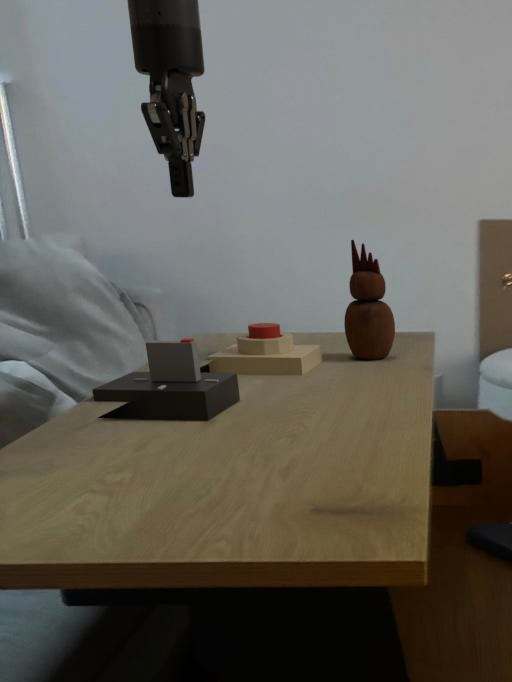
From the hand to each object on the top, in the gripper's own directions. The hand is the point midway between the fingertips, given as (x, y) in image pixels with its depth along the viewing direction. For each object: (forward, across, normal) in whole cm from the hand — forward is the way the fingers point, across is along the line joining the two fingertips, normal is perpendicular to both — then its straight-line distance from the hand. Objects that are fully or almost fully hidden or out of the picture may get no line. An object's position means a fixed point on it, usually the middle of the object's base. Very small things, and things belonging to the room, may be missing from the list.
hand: (183, 197), depth 116 cm
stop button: (+17, +5, -7) cm, 19 cm away
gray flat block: (+18, -20, -5) cm, 27 cm away
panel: (+21, -20, -4) cm, 29 cm away
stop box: (+20, +5, -7) cm, 22 cm away
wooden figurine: (+20, +14, -19) cm, 31 cm away
